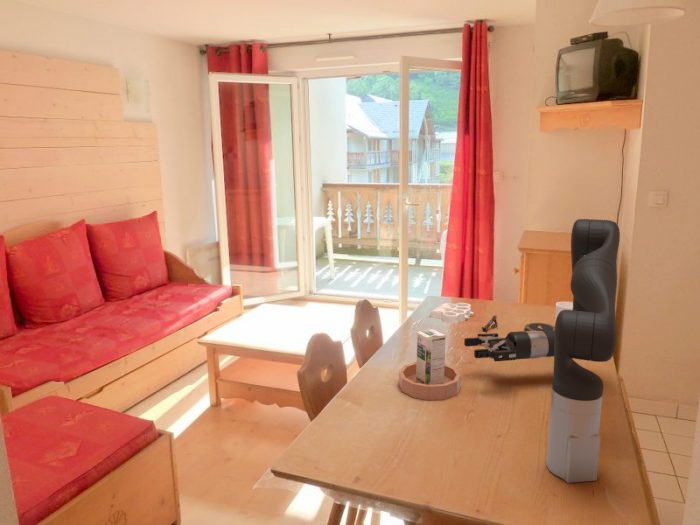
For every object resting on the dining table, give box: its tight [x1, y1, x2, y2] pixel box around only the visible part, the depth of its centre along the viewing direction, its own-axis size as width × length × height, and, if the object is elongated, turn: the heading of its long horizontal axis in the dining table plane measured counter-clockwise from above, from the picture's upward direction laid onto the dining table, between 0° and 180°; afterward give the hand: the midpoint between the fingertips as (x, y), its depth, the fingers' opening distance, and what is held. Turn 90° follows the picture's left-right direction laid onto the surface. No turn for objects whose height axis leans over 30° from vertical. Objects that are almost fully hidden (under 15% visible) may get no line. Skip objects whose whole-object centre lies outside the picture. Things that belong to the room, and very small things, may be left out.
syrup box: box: [416, 328, 446, 385], centre depth 147 cm, size 6×6×14 cm
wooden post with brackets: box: [481, 315, 498, 333], centre depth 193 cm, size 2×8×4 cm, turn 132°
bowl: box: [398, 361, 461, 401], centre depth 148 cm, size 16×16×4 cm
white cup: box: [554, 301, 573, 323], centre depth 187 cm, size 8×8×10 cm
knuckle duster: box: [428, 302, 475, 325], centre depth 208 cm, size 3×18×15 cm
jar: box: [523, 322, 555, 331], centre depth 172 cm, size 10×10×8 cm
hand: (469, 348), depth 148 cm, fingers open, 8 cm apart
